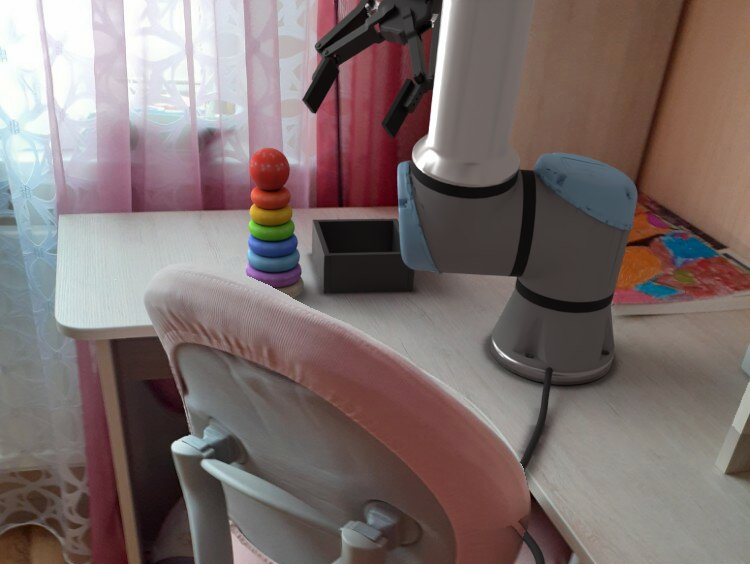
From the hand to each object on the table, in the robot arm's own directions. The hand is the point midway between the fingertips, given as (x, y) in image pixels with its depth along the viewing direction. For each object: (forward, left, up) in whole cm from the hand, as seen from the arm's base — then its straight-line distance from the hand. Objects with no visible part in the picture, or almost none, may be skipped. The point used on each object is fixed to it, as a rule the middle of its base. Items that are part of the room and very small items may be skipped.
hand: (346, 119), depth 109 cm
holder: (-1, -3, -21) cm, 21 cm away
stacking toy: (-6, +10, -21) cm, 24 cm away
